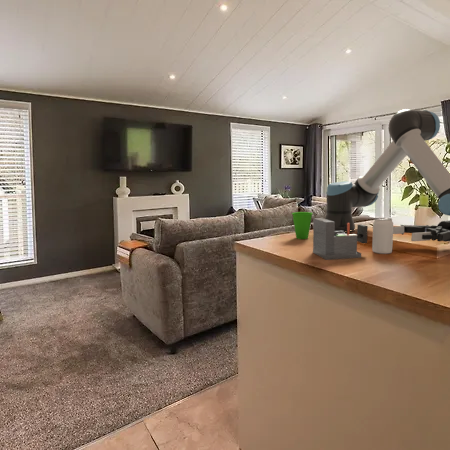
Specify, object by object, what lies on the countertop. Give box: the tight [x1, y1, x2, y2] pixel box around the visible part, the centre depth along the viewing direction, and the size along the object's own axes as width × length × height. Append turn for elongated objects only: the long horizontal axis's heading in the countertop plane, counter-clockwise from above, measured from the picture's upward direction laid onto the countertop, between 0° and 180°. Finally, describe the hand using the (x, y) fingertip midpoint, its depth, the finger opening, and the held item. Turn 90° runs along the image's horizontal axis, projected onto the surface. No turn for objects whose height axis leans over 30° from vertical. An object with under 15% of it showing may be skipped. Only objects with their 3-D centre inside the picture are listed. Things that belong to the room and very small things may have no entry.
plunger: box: [336, 223, 369, 244], centre depth 121 cm, size 9×6×8 cm, turn 98°
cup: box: [291, 211, 313, 240], centre depth 154 cm, size 9×9×11 cm
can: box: [371, 217, 394, 255], centre depth 123 cm, size 6×6×12 cm
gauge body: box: [312, 217, 362, 261], centre depth 121 cm, size 12×11×12 cm
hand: (399, 233), depth 124 cm, fingers open, 13 cm apart
